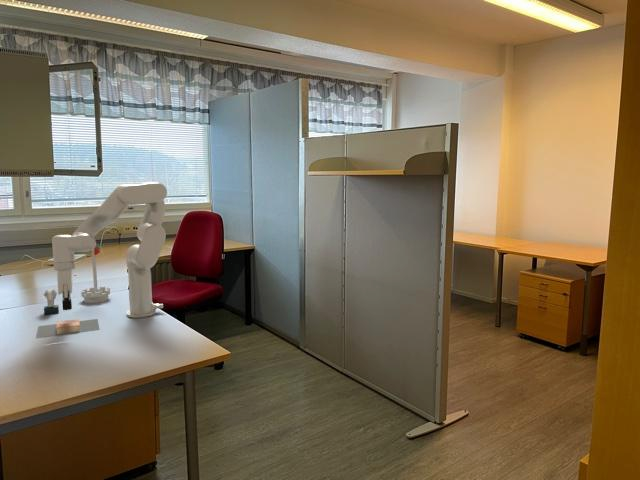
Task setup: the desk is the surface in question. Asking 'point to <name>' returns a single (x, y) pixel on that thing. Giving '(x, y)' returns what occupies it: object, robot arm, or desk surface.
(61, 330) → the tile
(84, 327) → the mat
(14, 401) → the desk surface
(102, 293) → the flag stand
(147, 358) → the desk surface
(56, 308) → the watch
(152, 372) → the desk surface
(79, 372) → the desk surface
